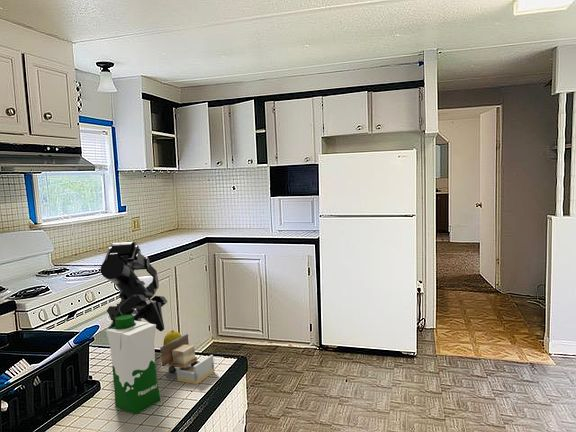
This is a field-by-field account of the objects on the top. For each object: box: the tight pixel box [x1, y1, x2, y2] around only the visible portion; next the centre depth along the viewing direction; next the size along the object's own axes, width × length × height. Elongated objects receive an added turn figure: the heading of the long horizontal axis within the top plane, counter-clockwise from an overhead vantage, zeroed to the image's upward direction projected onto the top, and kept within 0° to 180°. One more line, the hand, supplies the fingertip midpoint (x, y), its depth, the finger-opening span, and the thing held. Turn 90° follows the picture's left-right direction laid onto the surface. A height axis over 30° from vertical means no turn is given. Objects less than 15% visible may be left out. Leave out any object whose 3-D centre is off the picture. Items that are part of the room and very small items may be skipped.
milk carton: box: [105, 314, 162, 416], centre depth 101 cm, size 9×9×20 cm
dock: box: [164, 354, 215, 385], centre depth 115 cm, size 10×7×4 cm
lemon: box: [163, 329, 183, 346], centre depth 128 cm, size 6×6×8 cm
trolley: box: [159, 333, 198, 373], centre depth 116 cm, size 5×10×8 cm, turn 153°
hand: (162, 330), depth 118 cm, fingers closed
